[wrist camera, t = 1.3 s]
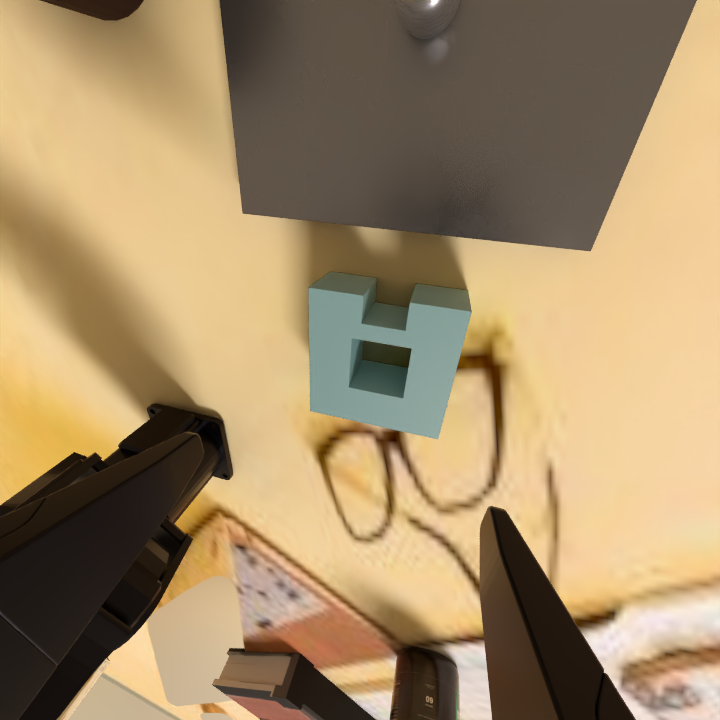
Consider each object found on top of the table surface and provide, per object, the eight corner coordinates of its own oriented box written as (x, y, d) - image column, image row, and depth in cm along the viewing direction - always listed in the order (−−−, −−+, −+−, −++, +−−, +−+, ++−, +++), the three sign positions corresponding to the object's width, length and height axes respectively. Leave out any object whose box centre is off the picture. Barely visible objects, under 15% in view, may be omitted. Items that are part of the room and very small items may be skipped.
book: (226, 647, 52) (207, 688, 48) (301, 649, 45) (285, 698, 40) (320, 720, 60) (310, 760, 56) (398, 732, 52) (393, 781, 48)
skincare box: (107, 656, 77) (54, 730, 67) (110, 662, 79) (59, 733, 69) (84, 645, 77) (28, 717, 67) (88, 651, 80) (34, 721, 69)
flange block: (439, 404, 19) (438, 439, 16) (328, 382, 20) (310, 411, 17) (467, 290, 15) (471, 311, 13) (330, 271, 16) (308, 287, 14)
